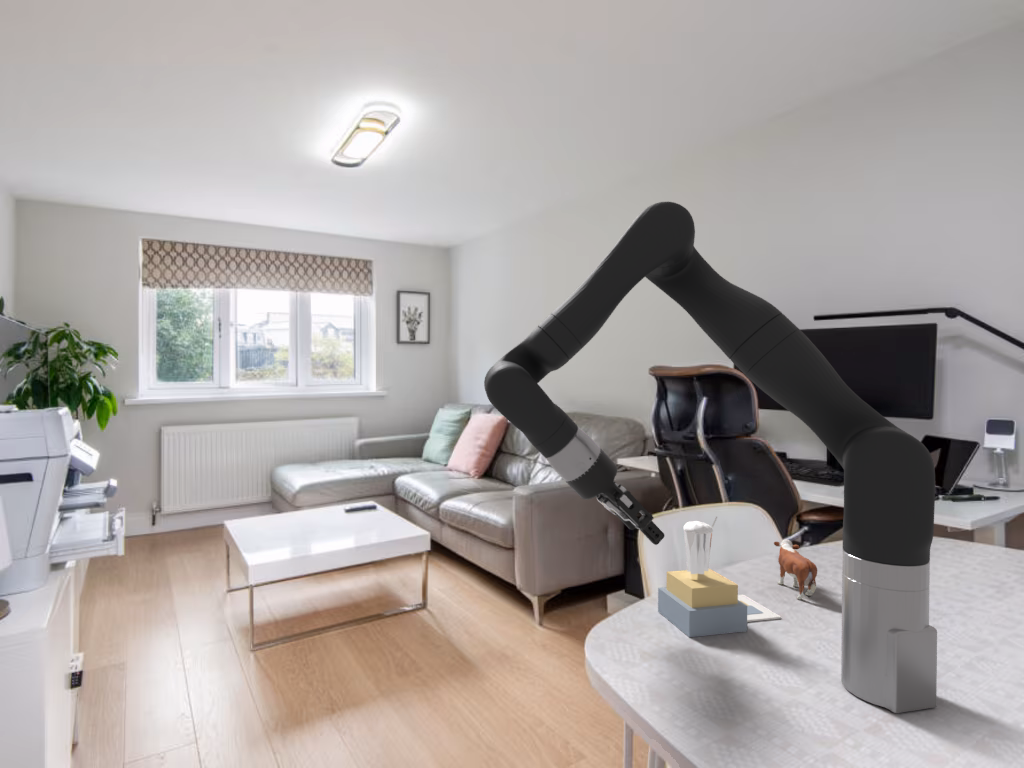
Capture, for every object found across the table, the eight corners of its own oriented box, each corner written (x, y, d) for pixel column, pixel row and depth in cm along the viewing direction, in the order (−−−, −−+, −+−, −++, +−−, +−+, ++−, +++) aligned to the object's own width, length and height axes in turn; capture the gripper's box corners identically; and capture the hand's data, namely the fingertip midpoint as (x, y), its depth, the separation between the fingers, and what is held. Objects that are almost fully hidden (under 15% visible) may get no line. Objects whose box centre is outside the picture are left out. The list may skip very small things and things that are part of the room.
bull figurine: (792, 577, 114) (792, 537, 114) (822, 604, 101) (822, 557, 101) (769, 577, 115) (769, 536, 115) (796, 602, 101) (796, 556, 101)
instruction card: (781, 618, 94) (781, 616, 94) (743, 622, 93) (743, 620, 93) (743, 596, 104) (743, 594, 104) (708, 599, 102) (708, 597, 102)
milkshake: (721, 583, 91) (722, 520, 91) (687, 582, 91) (688, 519, 91) (711, 573, 95) (712, 513, 95) (679, 572, 96) (680, 513, 95)
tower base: (747, 631, 89) (747, 586, 89) (689, 637, 87) (689, 591, 87) (710, 606, 99) (711, 566, 99) (658, 611, 97) (658, 570, 97)
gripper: (614, 450, 82) (685, 527, 85) (581, 439, 96) (643, 505, 99) (579, 488, 81) (652, 564, 84) (550, 471, 95) (614, 537, 98)
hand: (647, 532), depth 91 cm, fingers open, 8 cm apart
